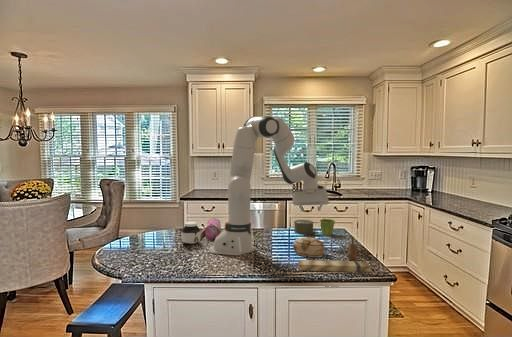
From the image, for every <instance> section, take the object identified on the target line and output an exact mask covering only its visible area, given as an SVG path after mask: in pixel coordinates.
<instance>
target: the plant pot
mask: <svg viewBox="0 0 512 337" xmlns="http://www.w3.org/2000/svg"><path fill="white" fill-rule="evenodd" d="M319 222H320V227H321V234H322V236H329V237H330V236H333V233H334V228H335V227H334V226H335V222H336V220H334V219H329V218H327V219H326V218H324V219H323V218H322V219H319Z"/></svg>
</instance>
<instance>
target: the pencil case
mask: <svg viewBox="0 0 512 337" xmlns="http://www.w3.org/2000/svg"><path fill="white" fill-rule="evenodd" d="M205 227H206V228H205ZM205 227H204V228H205V235H204V236H205V238H206V239H208V240H215V238H216V237H217V236H218V235H219V234H220V233H221V227H222V226H221V220H219V218H215V217H212V218H210V219H209V220H207V222H206V226H205Z"/></svg>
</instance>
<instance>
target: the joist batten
mask: <svg viewBox="0 0 512 337" xmlns="http://www.w3.org/2000/svg"><path fill="white" fill-rule="evenodd" d="M297 267H298V271H306V272H307V271H308V272H309V271H311V272H313V271H315V272H344V273H345V272H346V273H347V272H348V273H349V272H352V273H371V272H372V266H371V265H370V263H369V262H368V261H363V260H362V261H358V260H356V261H349V260H320V259H319V260H314V259H310V260H309V259H298V260H297Z"/></svg>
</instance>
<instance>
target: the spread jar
mask: <svg viewBox="0 0 512 337" xmlns="http://www.w3.org/2000/svg"><path fill="white" fill-rule="evenodd" d="M200 232H201V229H200V227H199V226H198V222H197V221H186V222H184V226H183V227H182V229H181V232H180V233H181V234H180V239H181V242H182V243H183V245H185V246H195V245H197V244H198V243H199V242H200V241H201V239H200Z"/></svg>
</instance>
